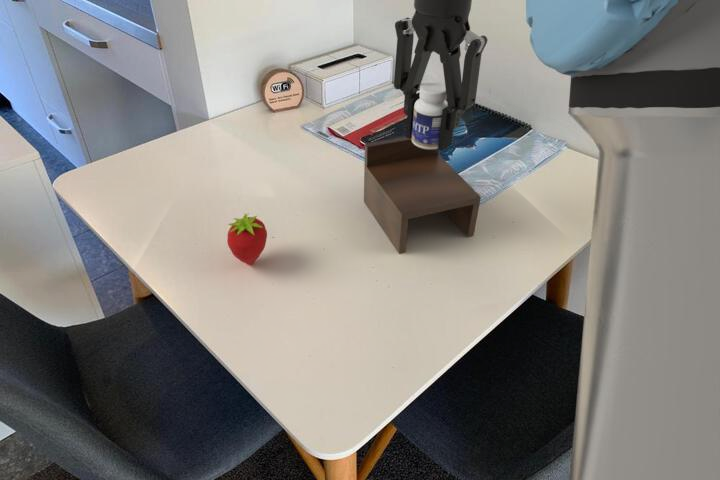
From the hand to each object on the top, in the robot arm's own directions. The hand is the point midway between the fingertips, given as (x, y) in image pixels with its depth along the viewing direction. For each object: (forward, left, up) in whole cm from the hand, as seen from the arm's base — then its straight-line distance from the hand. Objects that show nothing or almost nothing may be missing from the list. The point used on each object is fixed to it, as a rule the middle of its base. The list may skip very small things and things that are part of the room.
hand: (428, 140), depth 82 cm
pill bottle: (0, 0, 0) cm, 0 cm away
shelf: (+1, 0, -16) cm, 16 cm away
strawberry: (-1, +30, -16) cm, 34 cm away
